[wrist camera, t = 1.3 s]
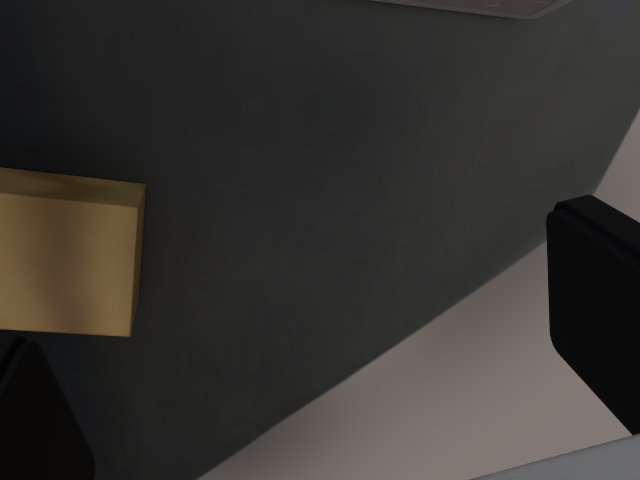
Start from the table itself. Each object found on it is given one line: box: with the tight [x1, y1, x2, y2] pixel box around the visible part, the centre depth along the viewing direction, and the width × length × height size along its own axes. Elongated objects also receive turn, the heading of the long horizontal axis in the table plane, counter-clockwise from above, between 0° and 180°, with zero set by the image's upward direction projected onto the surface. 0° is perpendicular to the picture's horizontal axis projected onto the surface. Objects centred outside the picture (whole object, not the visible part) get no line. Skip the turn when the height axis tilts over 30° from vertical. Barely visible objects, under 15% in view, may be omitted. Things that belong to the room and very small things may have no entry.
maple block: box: [0, 167, 146, 337], centre depth 33 cm, size 8×8×4 cm
